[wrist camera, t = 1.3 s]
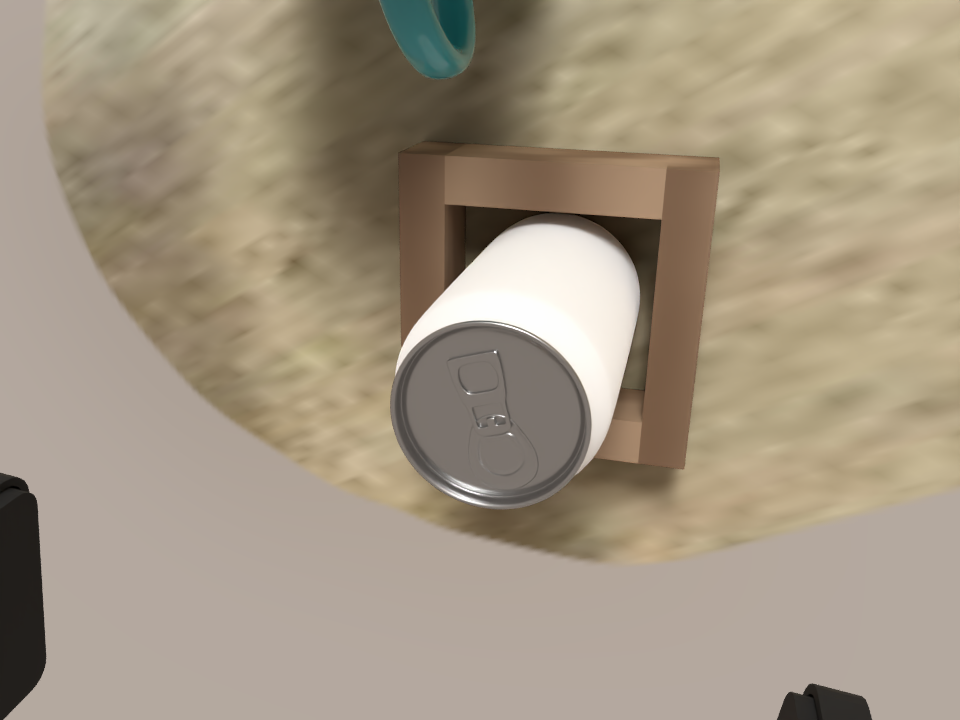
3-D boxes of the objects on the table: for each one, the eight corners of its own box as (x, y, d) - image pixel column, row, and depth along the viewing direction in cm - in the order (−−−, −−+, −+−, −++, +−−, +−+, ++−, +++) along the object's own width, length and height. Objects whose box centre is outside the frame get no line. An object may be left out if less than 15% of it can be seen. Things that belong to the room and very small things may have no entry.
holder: (719, 157, 32) (719, 171, 29) (686, 434, 36) (684, 469, 33) (423, 141, 34) (398, 153, 31) (425, 402, 38) (402, 432, 35)
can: (502, 379, 37) (414, 535, 26) (459, 230, 35) (344, 330, 24) (657, 352, 35) (631, 509, 24) (621, 191, 33) (574, 283, 22)
